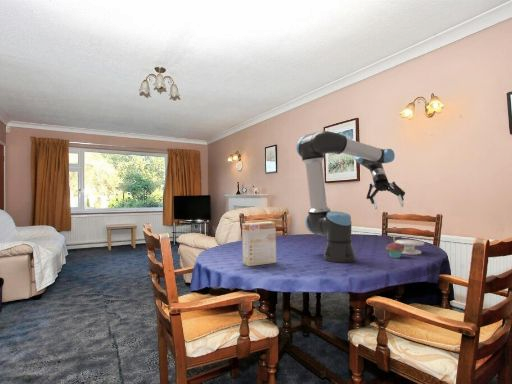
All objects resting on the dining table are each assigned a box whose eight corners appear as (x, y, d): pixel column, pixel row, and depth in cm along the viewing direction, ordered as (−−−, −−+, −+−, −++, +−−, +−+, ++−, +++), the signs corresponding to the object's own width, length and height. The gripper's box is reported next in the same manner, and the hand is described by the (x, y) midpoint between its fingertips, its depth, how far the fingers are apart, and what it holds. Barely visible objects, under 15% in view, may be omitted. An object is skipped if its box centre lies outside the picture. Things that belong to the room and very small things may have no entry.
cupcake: (403, 259, 148) (402, 234, 148) (384, 257, 152) (384, 233, 152) (405, 256, 155) (404, 232, 155) (387, 254, 159) (387, 232, 159)
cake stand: (396, 254, 160) (396, 243, 160) (394, 249, 173) (394, 239, 173) (426, 256, 154) (426, 244, 154) (422, 251, 167) (422, 240, 168)
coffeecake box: (269, 260, 150) (269, 221, 151) (276, 263, 144) (276, 222, 144) (242, 263, 144) (241, 222, 144) (248, 266, 138) (247, 223, 138)
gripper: (400, 180, 177) (412, 208, 163) (356, 184, 180) (364, 212, 166) (403, 171, 171) (415, 200, 157) (358, 175, 174) (366, 204, 161)
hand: (389, 206), depth 162 cm, fingers open, 13 cm apart
